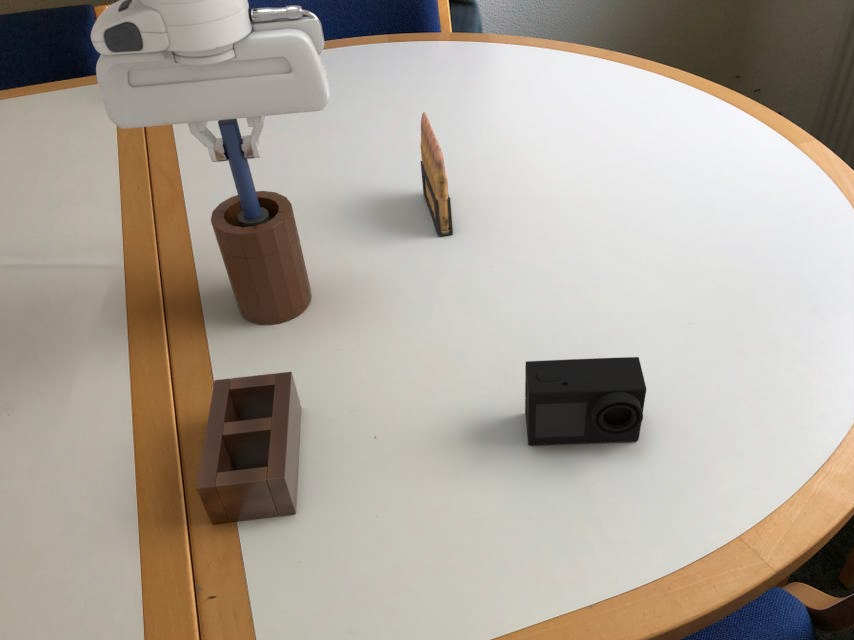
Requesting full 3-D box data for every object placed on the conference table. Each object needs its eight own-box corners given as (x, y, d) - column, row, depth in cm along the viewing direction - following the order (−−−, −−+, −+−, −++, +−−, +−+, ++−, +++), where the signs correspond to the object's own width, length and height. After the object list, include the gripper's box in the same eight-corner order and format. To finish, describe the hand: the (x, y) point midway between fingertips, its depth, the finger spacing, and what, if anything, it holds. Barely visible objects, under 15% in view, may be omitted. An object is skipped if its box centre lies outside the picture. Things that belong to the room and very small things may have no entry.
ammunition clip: (423, 194, 107) (415, 109, 99) (436, 191, 107) (429, 107, 99) (438, 237, 99) (431, 149, 91) (453, 234, 99) (447, 147, 91)
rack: (212, 524, 68) (195, 488, 65) (227, 416, 78) (214, 379, 74) (296, 514, 69) (284, 478, 65) (301, 407, 78) (291, 371, 75)
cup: (235, 328, 87) (206, 237, 79) (242, 283, 93) (216, 194, 85) (310, 320, 88) (289, 229, 80) (312, 276, 94) (292, 187, 86)
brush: (248, 267, 85) (208, 129, 74) (250, 250, 88) (212, 114, 77) (278, 264, 86) (242, 126, 75) (280, 247, 88) (245, 111, 77)
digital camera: (527, 456, 73) (528, 403, 68) (524, 412, 77) (524, 360, 72) (641, 451, 73) (649, 398, 68) (631, 408, 77) (639, 355, 72)
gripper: (318, -9, 72) (342, 132, 81) (87, 10, 71) (139, 151, 80) (317, 16, 67) (342, 162, 77) (70, 37, 66) (126, 183, 75)
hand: (237, 157), depth 78 cm, fingers closed on brush, 2 cm apart
